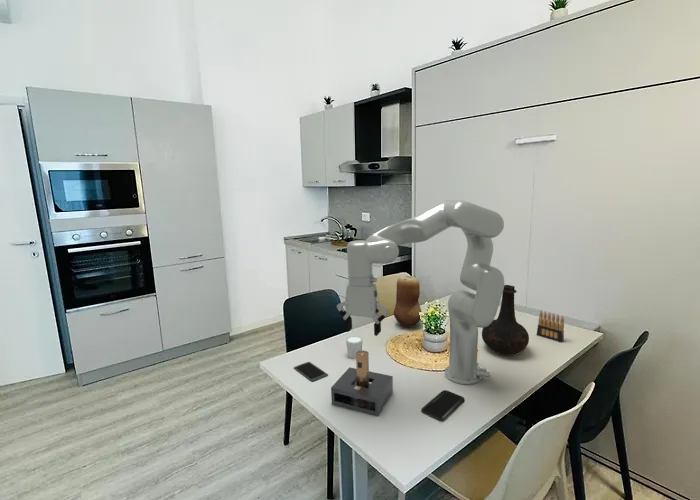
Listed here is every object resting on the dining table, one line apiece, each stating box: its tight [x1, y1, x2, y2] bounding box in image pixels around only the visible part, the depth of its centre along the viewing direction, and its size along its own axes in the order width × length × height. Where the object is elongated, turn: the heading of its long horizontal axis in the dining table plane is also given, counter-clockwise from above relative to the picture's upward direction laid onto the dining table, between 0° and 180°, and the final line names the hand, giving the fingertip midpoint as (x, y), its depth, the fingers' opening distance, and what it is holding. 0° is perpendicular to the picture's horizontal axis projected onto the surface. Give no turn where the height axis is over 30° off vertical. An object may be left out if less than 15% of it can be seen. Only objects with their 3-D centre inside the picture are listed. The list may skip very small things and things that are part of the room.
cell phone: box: [293, 361, 329, 383], centre depth 138 cm, size 7×14×1 cm, turn 38°
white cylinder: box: [345, 335, 363, 360], centre depth 149 cm, size 7×7×7 cm
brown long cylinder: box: [355, 349, 370, 401], centre depth 118 cm, size 4×4×16 cm
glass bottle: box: [481, 284, 530, 356], centre depth 148 cm, size 18×18×28 cm
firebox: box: [330, 366, 394, 417], centre depth 119 cm, size 16×14×6 cm
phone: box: [420, 389, 466, 423], centre depth 115 cm, size 8×1×15 cm
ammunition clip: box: [536, 309, 565, 344], centre depth 160 cm, size 11×2×12 cm, turn 38°
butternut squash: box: [393, 275, 422, 329], centre depth 178 cm, size 14×13×25 cm
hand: (363, 332), depth 116 cm, fingers open, 9 cm apart
